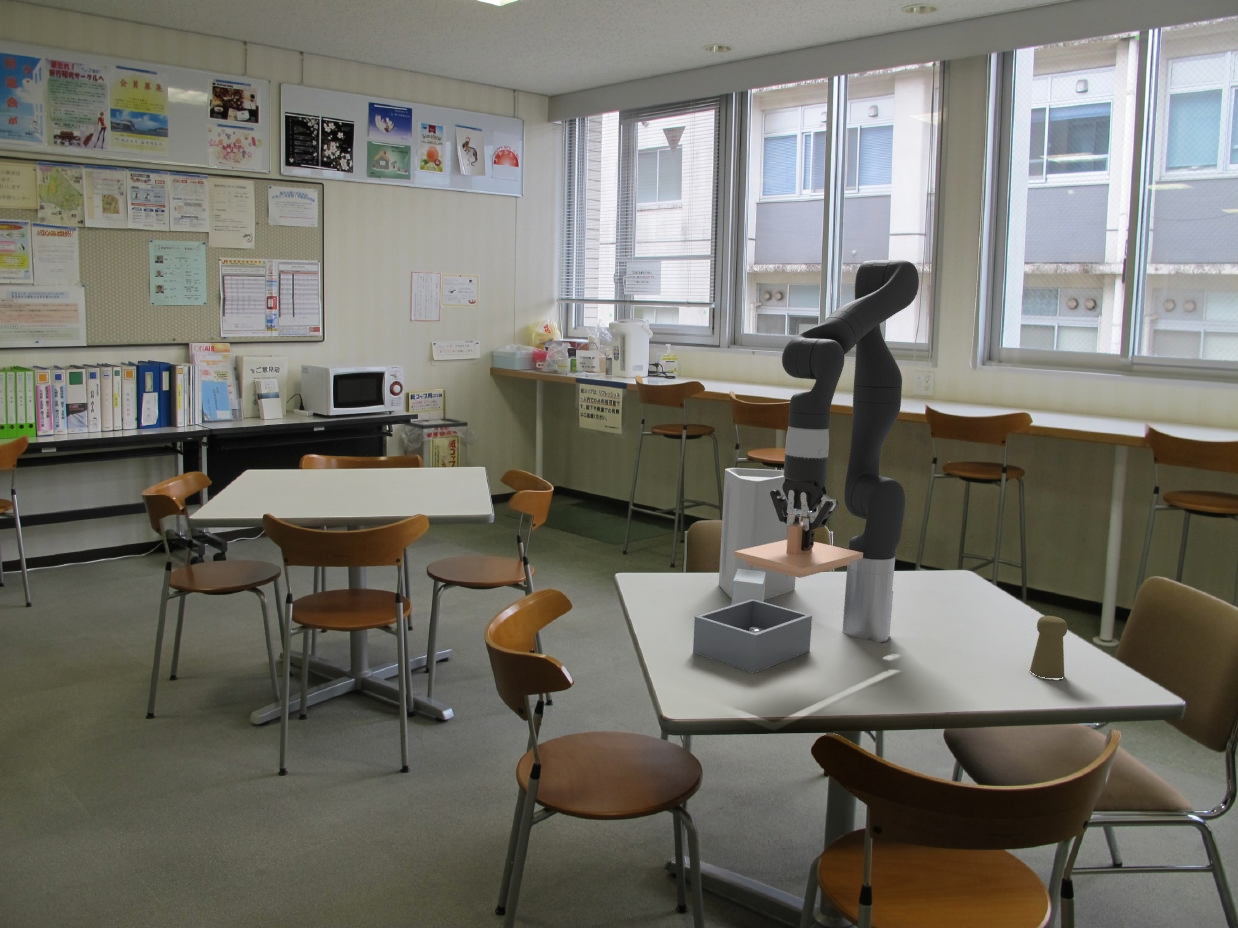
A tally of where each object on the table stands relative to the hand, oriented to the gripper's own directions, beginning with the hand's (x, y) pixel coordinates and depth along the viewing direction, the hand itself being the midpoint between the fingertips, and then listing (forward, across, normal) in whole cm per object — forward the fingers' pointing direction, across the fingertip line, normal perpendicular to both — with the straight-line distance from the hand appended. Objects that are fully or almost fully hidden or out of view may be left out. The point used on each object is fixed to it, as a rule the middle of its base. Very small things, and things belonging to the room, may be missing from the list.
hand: (800, 548), depth 178 cm
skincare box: (+23, +23, -17) cm, 37 cm away
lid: (+3, 0, 0) cm, 3 cm away
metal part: (+22, +12, -5) cm, 26 cm away
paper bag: (+23, +39, -37) cm, 59 cm away
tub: (+23, +10, -1) cm, 25 cm away
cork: (+23, -31, -37) cm, 54 cm away
